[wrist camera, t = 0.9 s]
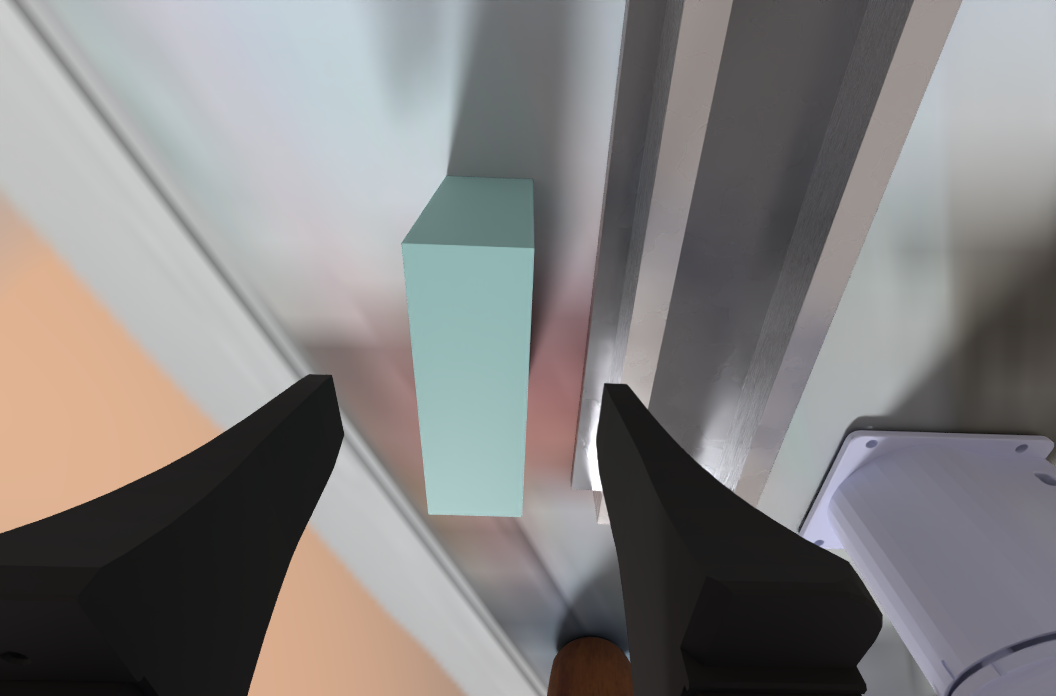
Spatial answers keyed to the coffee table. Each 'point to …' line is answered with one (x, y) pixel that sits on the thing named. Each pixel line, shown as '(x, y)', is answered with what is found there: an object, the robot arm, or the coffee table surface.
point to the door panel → (472, 341)
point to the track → (741, 209)
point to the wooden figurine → (591, 670)
